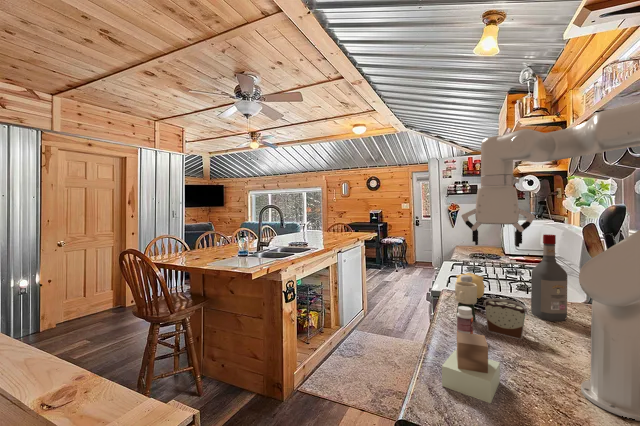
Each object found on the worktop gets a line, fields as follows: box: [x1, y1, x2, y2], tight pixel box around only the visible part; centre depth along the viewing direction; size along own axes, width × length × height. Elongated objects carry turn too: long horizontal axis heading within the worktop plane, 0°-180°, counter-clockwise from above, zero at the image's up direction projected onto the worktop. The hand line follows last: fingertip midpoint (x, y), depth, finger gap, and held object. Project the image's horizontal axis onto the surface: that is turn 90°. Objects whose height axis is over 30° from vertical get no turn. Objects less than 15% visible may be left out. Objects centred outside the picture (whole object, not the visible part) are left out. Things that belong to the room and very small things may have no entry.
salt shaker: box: [461, 275, 475, 307], centre depth 122 cm, size 6×6×13 cm
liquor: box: [530, 234, 568, 322], centre depth 111 cm, size 9×9×30 cm
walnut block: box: [456, 331, 489, 374], centre depth 71 cm, size 6×6×6 cm
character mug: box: [454, 281, 478, 322], centre depth 109 cm, size 11×7×13 cm, turn 135°
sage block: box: [441, 349, 501, 404], centre depth 71 cm, size 10×10×5 cm
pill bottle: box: [456, 306, 474, 334], centre depth 98 cm, size 5×5×8 cm
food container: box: [482, 298, 529, 340], centre depth 99 cm, size 12×6×10 cm, turn 47°
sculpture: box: [455, 272, 485, 299], centre depth 136 cm, size 11×12×11 cm
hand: (496, 245), depth 84 cm, fingers open, 9 cm apart
